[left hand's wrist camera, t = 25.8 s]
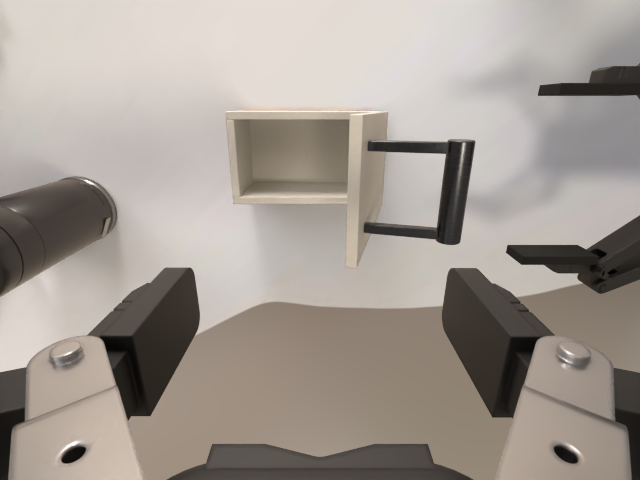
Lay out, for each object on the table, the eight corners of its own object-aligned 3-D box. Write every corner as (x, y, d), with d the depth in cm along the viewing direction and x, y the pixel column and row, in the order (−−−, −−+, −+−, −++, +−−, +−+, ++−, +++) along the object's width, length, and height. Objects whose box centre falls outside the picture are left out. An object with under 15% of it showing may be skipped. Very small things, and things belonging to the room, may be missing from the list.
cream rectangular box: (249, 186, 50) (233, 204, 41) (243, 110, 46) (225, 111, 37) (367, 186, 50) (377, 204, 41) (371, 110, 46) (383, 111, 37)
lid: (345, 267, 25) (461, 280, 23) (349, 114, 21) (487, 115, 19) (374, 205, 41) (444, 209, 39) (380, 111, 37) (457, 111, 35)
